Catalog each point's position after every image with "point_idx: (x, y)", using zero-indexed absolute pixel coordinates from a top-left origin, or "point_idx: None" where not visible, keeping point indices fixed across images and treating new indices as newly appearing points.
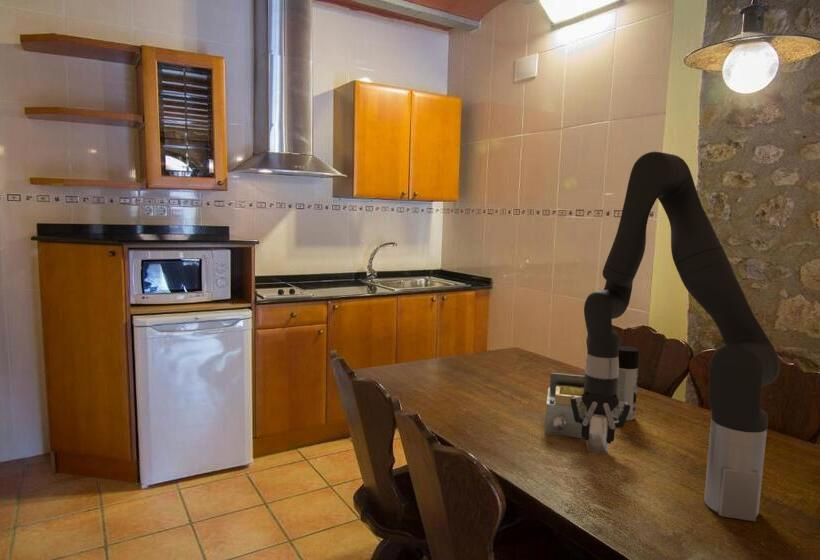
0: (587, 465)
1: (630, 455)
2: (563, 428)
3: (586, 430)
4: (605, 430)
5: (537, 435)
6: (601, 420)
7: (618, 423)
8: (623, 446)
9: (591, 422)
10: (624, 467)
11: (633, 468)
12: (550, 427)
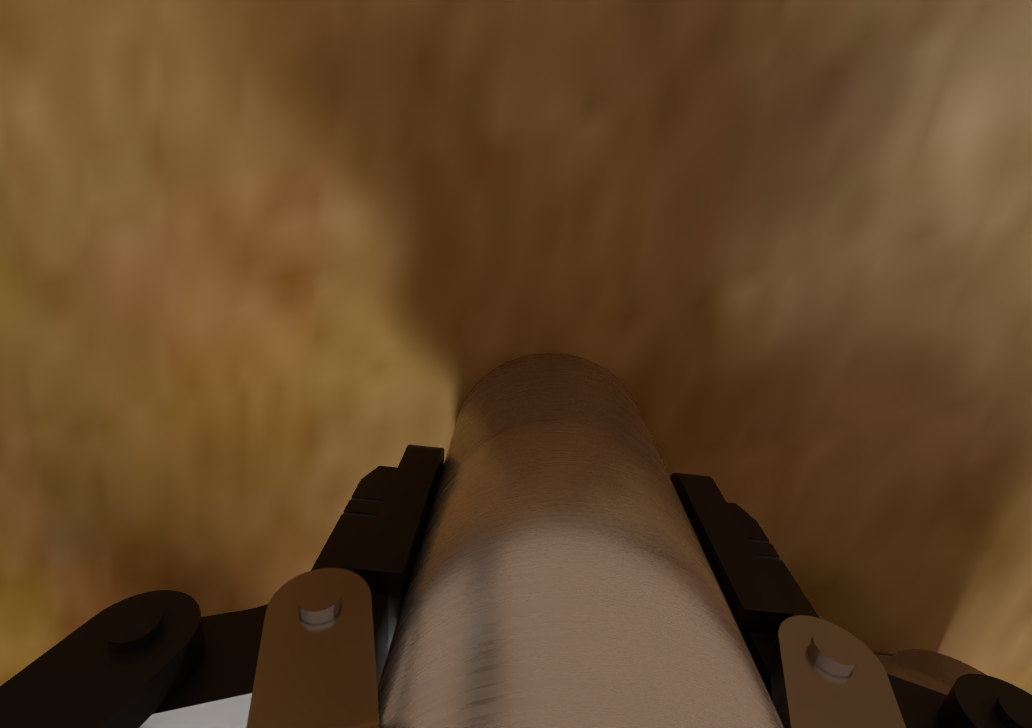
0: (737, 28)
1: (250, 387)
2: (896, 671)
3: (738, 559)
4: (464, 530)
5: (1022, 619)
6: (560, 696)
7: (170, 680)
8: (303, 546)
9: (749, 663)
10: (320, 78)
11: (225, 74)
12: None
